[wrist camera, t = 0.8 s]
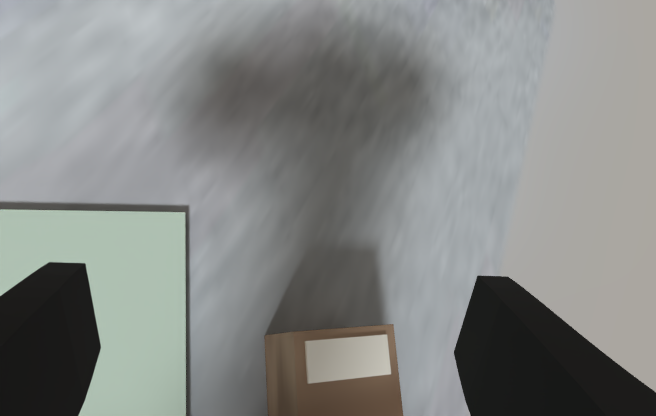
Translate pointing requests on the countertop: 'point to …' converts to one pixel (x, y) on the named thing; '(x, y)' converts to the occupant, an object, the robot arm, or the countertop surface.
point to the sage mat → (116, 297)
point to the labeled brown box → (333, 372)
